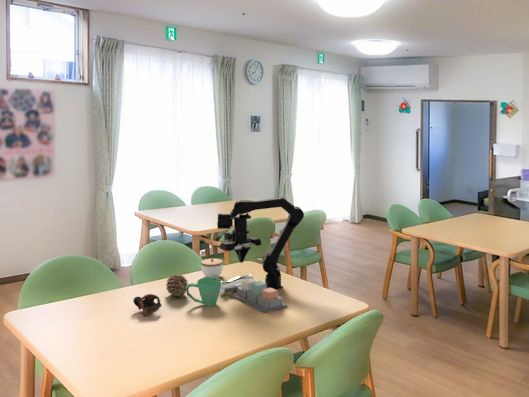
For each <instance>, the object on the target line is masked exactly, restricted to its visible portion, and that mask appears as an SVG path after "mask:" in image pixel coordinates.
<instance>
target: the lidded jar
mask: <svg viewBox="0 0 529 397" xmlns="http://www.w3.org/2000/svg"><path fill="white" fill-rule="evenodd" d="M200 264H201V266H200V267H201V272H202V274H203V275H204V276H205V278H207V277H213V279H214V280H215V278H220V276H221V275H222V273H223V269H224V260H223V259H221V258H213V257H211V258H206V259H203V260H201V262H200Z"/></svg>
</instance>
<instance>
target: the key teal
mask: <svg viewBox="0 0 529 397" xmlns="http://www.w3.org/2000/svg"><path fill="white" fill-rule="evenodd" d="M263 289H267V288H266V283H265V281H260V280H258V281H256V282H253V283H251V293H253V294H255V295H261V294H262V290H263Z"/></svg>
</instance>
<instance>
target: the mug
mask: <svg viewBox="0 0 529 397" xmlns="http://www.w3.org/2000/svg"><path fill="white" fill-rule="evenodd" d="M221 281H222V279H221V278H220V277H218V278H215V279H213V277H207V278H206V277H203V278H200V279H198V280H197V282H196V283H194V282H190V283H187V284H188V285H187V286H186V291H185V292H186V295H187V297H189V298H190V299H191V300H192V301H193V302H196V303H199V304H201V305H204V306H206V307H213V306H216V305H217V302H218V299H219V296H220V293H219V292H220V287H221ZM191 287H193V288H198V291H199V296H200V298H201V299H199V298H197V297H196V298H195V296H193V295H192V294H191V293H190V292H189V291H190V290H189V288H191Z"/></svg>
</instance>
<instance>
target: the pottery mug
mask: <svg viewBox="0 0 529 397" xmlns="http://www.w3.org/2000/svg"><path fill="white" fill-rule="evenodd" d="M155 300H157V303H156V302H155ZM161 302H162V301H161V300H160V296H157V295H156V294H153V293H148V294H145V295H144V296H142V297H141V296H135V297H134V298H133V304H134V305H135V306H136V307H137V308H138V311H140V310H142V311H141V315H142V316H143V317H146V316H147V315H150V314H154V313H155V312H157V311H159V310H160V308H162V304H161Z"/></svg>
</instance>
